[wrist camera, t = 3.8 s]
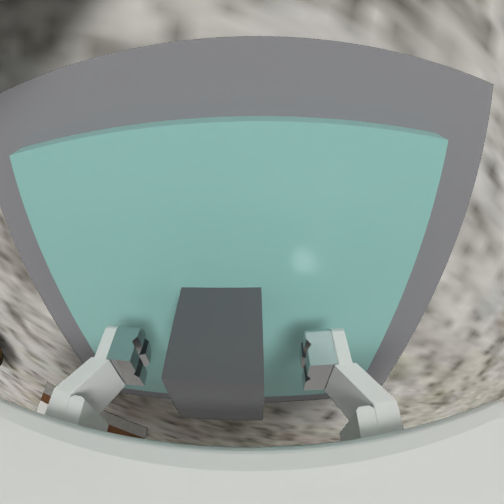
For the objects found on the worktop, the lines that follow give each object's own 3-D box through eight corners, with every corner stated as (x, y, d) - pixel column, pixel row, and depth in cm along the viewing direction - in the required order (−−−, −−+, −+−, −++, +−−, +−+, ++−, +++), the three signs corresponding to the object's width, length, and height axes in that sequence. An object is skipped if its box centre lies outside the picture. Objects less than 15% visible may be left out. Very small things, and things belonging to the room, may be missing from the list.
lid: (436, 133, 8) (530, 197, 4) (353, 379, 17) (367, 447, 13) (21, 148, 8) (-65, 211, 4) (120, 377, 17) (104, 441, 13)
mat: (483, 81, 7) (493, 84, 7) (375, 385, 19) (377, 392, 19) (-16, 102, 7) (-25, 105, 7) (104, 383, 19) (102, 389, 19)
